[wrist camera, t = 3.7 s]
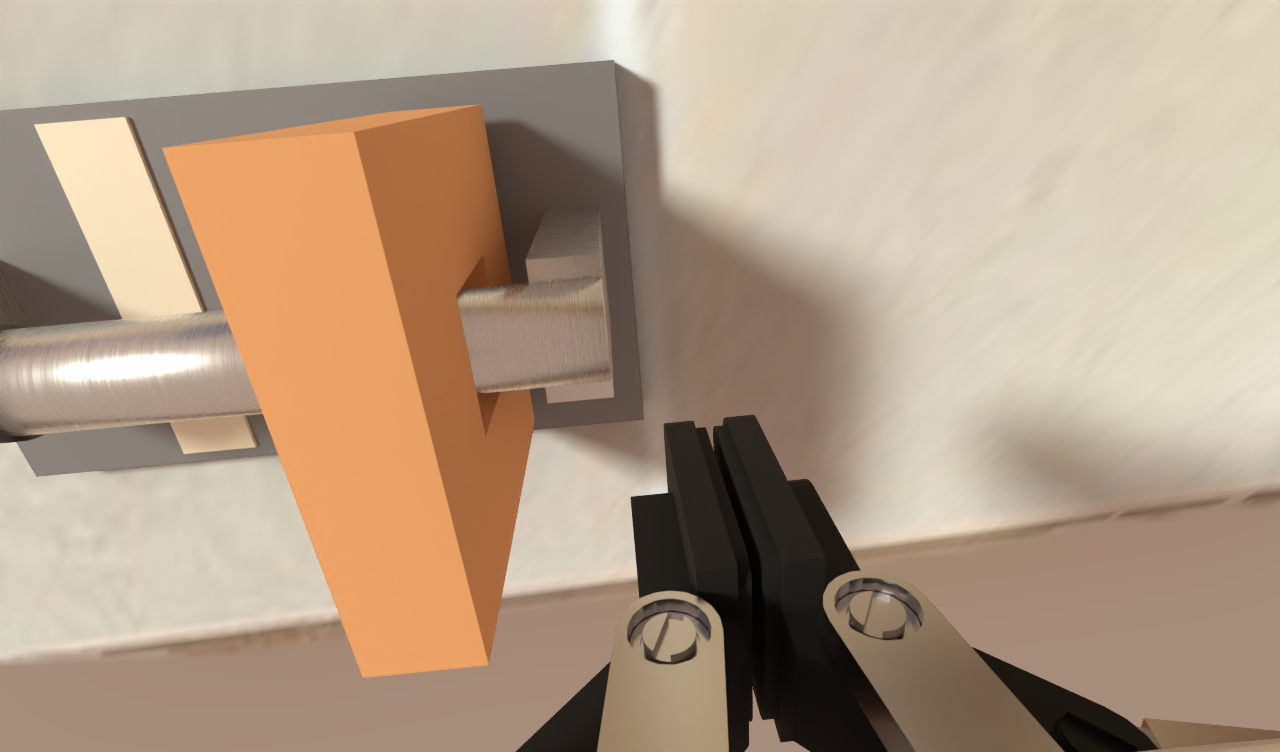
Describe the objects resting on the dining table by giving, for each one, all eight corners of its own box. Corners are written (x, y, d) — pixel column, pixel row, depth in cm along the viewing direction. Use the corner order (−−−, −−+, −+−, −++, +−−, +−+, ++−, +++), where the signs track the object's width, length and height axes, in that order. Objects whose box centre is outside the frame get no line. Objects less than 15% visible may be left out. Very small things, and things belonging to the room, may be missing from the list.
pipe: (599, 206, 23) (599, 270, 16) (610, 317, 25) (615, 424, 17) (-59, 263, 23) (-399, 359, 15) (2, 372, 25) (-272, 507, 17)
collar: (481, 104, 21) (353, 132, 10) (534, 420, 26) (488, 664, 15) (390, 112, 21) (161, 147, 10) (461, 427, 26) (363, 678, 15)
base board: (613, 61, 23) (614, 60, 21) (641, 403, 29) (643, 420, 27) (-123, 121, 22) (-175, 124, 21) (63, 457, 28) (33, 478, 27)
